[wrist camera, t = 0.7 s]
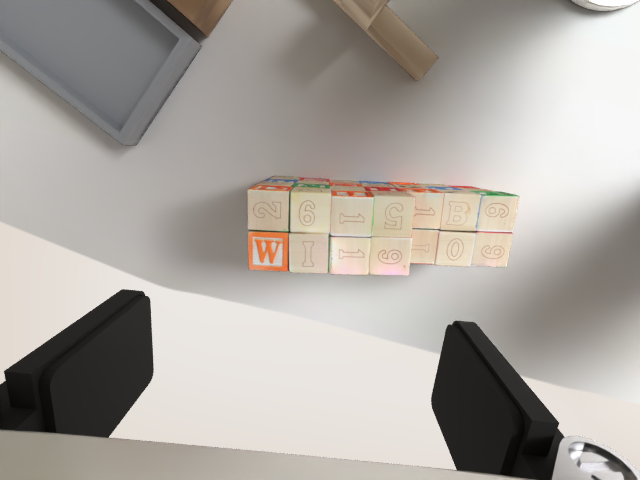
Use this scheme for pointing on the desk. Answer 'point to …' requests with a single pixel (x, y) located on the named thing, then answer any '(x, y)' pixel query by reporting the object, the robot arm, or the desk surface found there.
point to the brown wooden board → (202, 12)
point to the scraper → (391, 34)
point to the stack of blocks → (375, 226)
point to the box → (100, 56)
